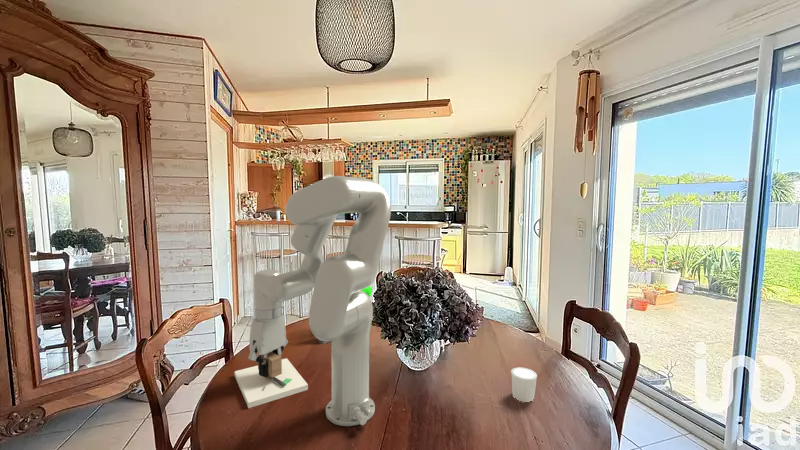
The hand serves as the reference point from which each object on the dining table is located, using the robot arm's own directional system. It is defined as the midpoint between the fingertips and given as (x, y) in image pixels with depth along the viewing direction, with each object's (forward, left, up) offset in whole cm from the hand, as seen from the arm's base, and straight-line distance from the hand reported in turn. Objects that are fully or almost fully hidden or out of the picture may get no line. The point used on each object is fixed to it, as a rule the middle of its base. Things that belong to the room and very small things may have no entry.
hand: (269, 372), depth 103 cm
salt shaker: (+20, -26, -3) cm, 33 cm away
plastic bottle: (+22, -42, -3) cm, 47 cm away
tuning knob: (-2, -1, -1) cm, 3 cm away
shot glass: (-47, -57, -3) cm, 74 cm away
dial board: (0, 0, -3) cm, 3 cm away
